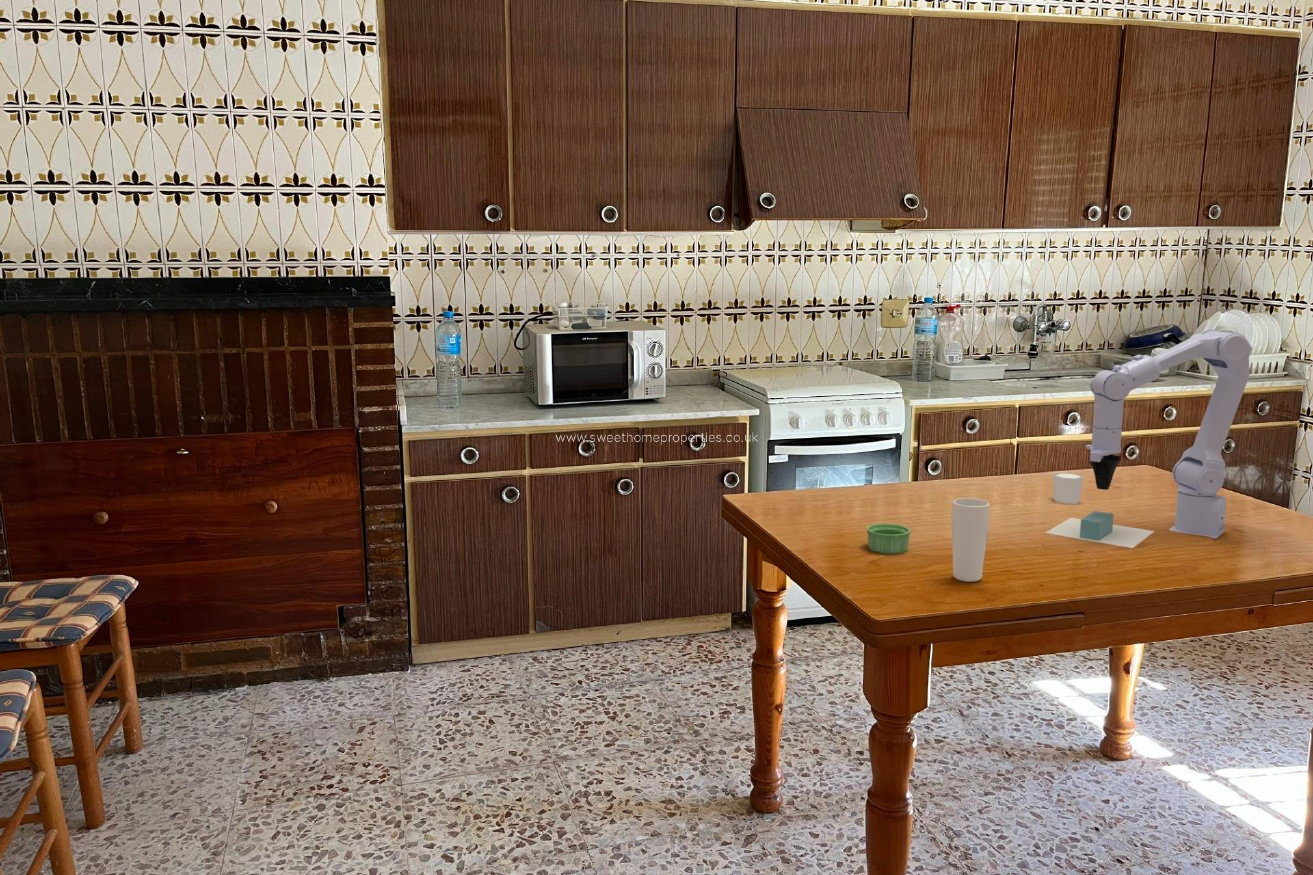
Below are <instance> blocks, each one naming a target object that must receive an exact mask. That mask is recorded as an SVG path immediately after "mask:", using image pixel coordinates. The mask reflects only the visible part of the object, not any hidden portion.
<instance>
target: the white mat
mask: <svg viewBox="0 0 1313 875" xmlns="http://www.w3.org/2000/svg"><path fill="white" fill-rule="evenodd" d="M1081 519H1082V518H1081ZM1081 519H1080V518H1075V517H1069V518H1068V519H1066V520H1064V521H1062V522H1061V523H1059V524H1056V526H1054V527H1053V528H1051V529H1049V530H1047V531H1045V534H1049V535H1054V536H1059V537H1060V536H1061V537H1066V538H1072V539H1078V540H1083V541H1090V542H1095V543H1099V544H1100V543H1101V544H1107V545H1110V546H1111V545H1112V546H1118V547H1124V548H1130V549H1133V548H1135V547H1136V546H1138V545H1139V544H1140V543H1142V542H1143V541H1144V540H1145V539H1147V538H1148V537H1150V536H1151V535H1152V534H1153V533H1155V530H1151V529H1150V530H1148V529H1143V528H1138V527H1137V528H1136V527H1131V526H1124V525H1117V524H1113V530H1112V532H1111V533H1110V534H1108V535H1107V536H1105V537H1104V538H1102V539H1101V540H1100V541H1097V540H1091V539H1085V538H1080V526H1081Z"/></svg>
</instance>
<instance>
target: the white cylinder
mask: <svg viewBox="0 0 1313 875" xmlns="http://www.w3.org/2000/svg"><path fill="white" fill-rule="evenodd" d="M1084 478H1085V477H1084V476H1083V475H1081V474H1077V473H1071V472H1069V473H1068V472H1058V473H1054V474H1053V500H1054V502H1056V503H1060V504H1063V505H1065V504H1066V505H1075V504H1079V503H1080V500H1081V496H1082V489H1083V483H1084Z"/></svg>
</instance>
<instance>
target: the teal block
mask: <svg viewBox="0 0 1313 875" xmlns="http://www.w3.org/2000/svg"><path fill="white" fill-rule="evenodd" d="M1114 516H1115V513H1110V512H1103V511H1097V510H1096V511H1095V510H1094V511H1092V512H1090V513H1089V514H1087V515H1086V516H1084V517H1083V518H1081V526H1080V538H1085V539H1091V540H1097V541H1100V540H1101V539H1102V538H1104V537H1105V536H1107V535H1108V534H1110V533H1111V532H1112V530H1113V525H1114Z"/></svg>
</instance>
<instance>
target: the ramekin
mask: <svg viewBox="0 0 1313 875" xmlns="http://www.w3.org/2000/svg"><path fill="white" fill-rule="evenodd" d="M911 532H912V530H911V529H910V528H909V527H908V526H905V525H902V524H897V523H875V524H870V525H867V527H866V533H867V540H868V541H867V543H868V548H869V550H870V551H873V552H875V553H878V552H879V554H885V555H886V554H887V555H890V554H891V555H897V554H902V553H906V552H907V550H908V549H909V540H910V535H911Z"/></svg>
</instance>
